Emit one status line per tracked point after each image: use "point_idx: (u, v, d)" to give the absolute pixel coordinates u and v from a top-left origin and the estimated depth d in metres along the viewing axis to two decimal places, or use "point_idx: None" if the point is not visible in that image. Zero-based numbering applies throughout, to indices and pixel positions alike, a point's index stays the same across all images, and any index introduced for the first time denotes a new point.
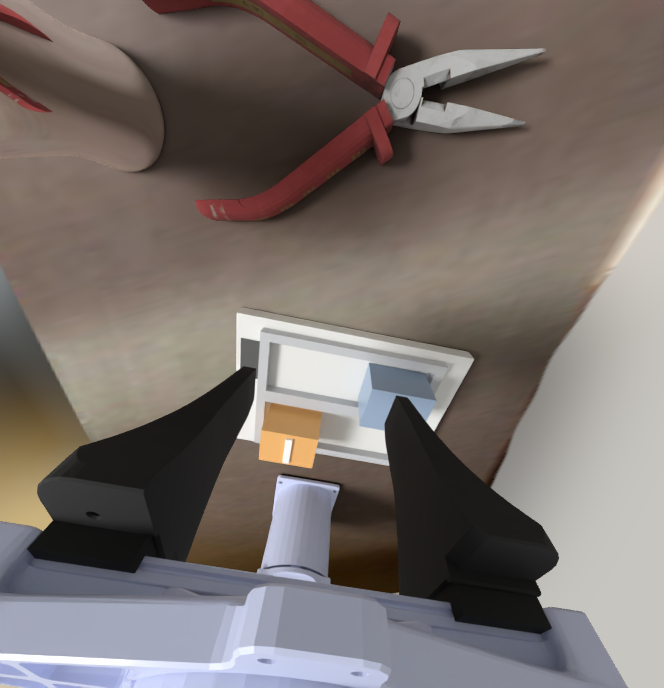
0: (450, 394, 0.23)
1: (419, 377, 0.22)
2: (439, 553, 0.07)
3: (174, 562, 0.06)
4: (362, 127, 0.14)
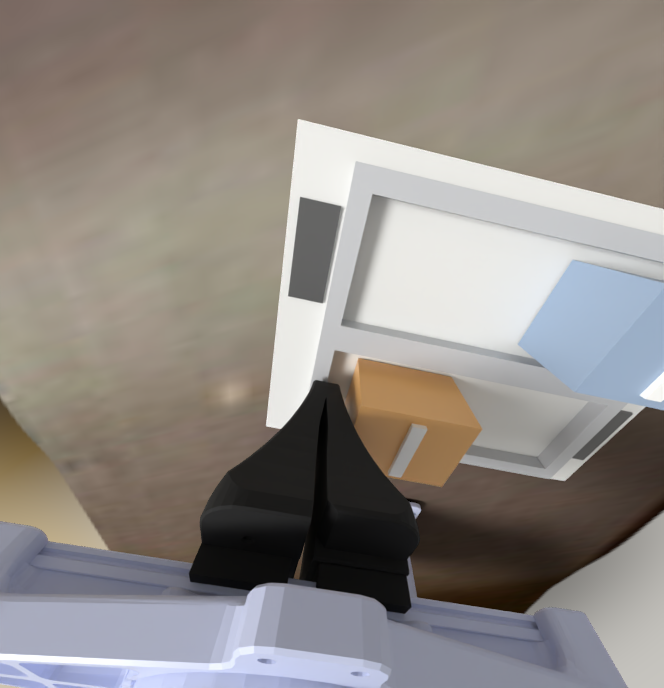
0: None
1: None
2: (315, 533, 0.07)
3: (174, 562, 0.06)
4: None
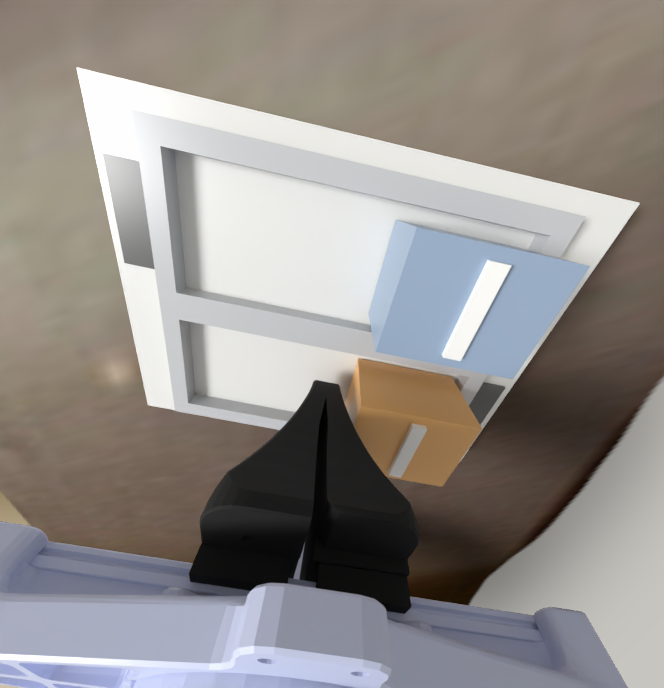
0: None
1: (512, 246, 0.09)
2: (315, 533, 0.07)
3: (174, 562, 0.06)
4: None
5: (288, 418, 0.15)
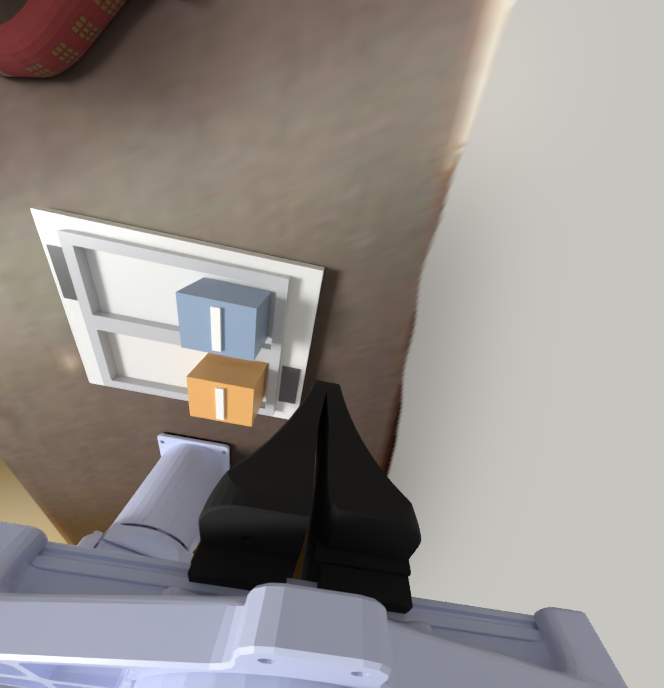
0: (309, 320, 0.20)
1: (259, 292, 0.18)
2: (316, 533, 0.07)
3: (174, 562, 0.06)
4: None
5: (175, 390, 0.23)
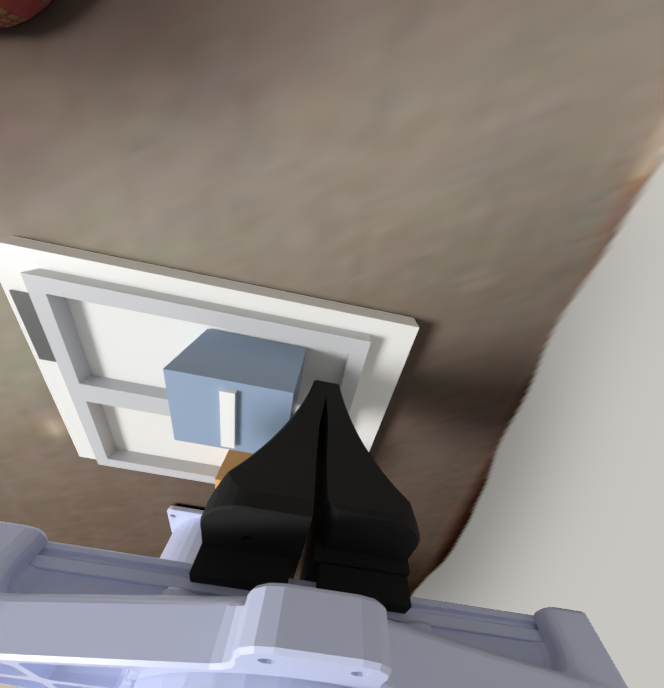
0: (387, 390, 0.14)
1: (290, 353, 0.12)
2: (315, 533, 0.07)
3: (174, 562, 0.06)
4: None
5: (193, 470, 0.18)
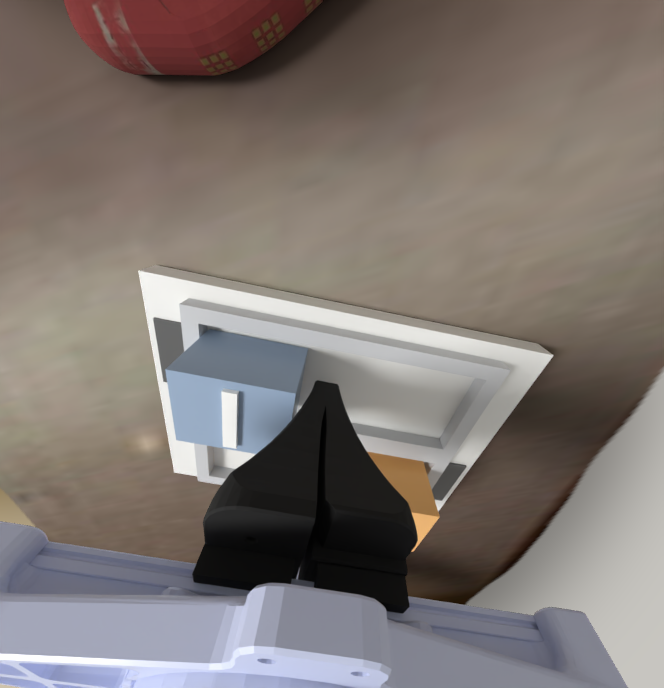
0: (504, 413, 0.14)
1: (292, 353, 0.12)
2: (313, 532, 0.07)
3: (174, 562, 0.06)
4: None
5: None
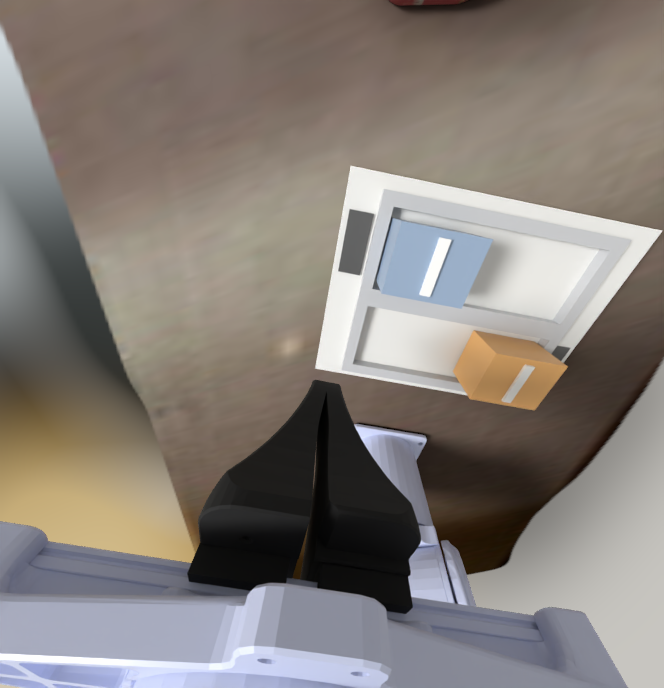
0: (611, 290, 0.18)
1: None
2: (316, 533, 0.07)
3: (174, 562, 0.06)
4: None
5: (417, 374, 0.22)
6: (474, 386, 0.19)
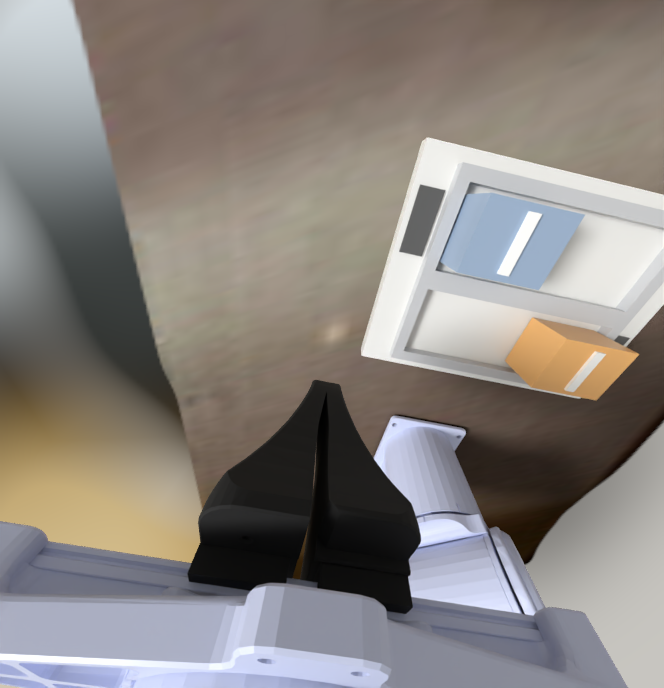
0: None
1: None
2: (316, 533, 0.07)
3: (174, 562, 0.06)
4: None
5: (469, 362, 0.21)
6: (537, 374, 0.18)
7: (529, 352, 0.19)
